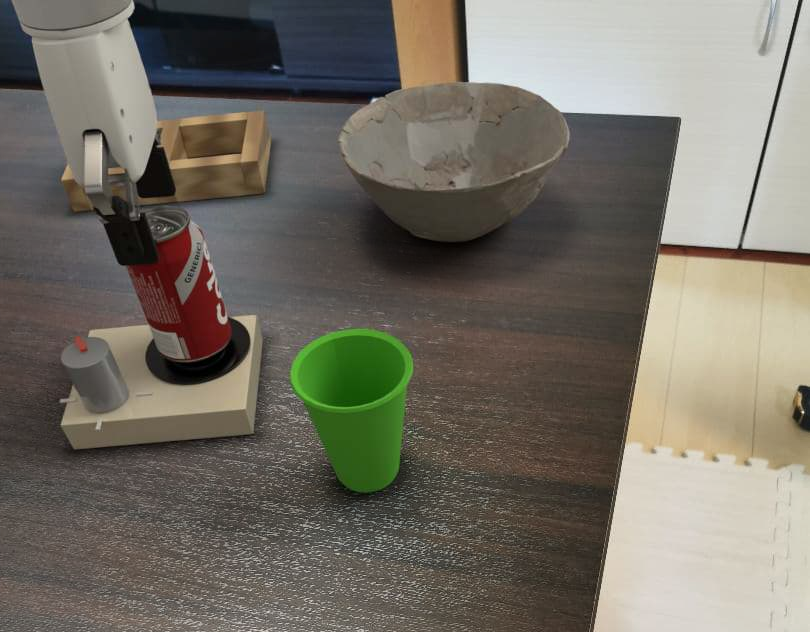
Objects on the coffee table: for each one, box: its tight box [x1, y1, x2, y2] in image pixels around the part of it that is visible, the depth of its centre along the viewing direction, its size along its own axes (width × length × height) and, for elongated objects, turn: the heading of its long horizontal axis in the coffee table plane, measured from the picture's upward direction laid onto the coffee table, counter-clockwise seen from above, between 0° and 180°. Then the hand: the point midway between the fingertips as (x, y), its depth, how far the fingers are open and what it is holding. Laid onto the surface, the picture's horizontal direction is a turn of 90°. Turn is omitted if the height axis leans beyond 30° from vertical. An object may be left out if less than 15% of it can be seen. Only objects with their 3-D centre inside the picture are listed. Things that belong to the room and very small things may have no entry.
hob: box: [59, 314, 264, 450], centre depth 76 cm, size 17×14×3 cm
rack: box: [60, 109, 272, 213], centre depth 101 cm, size 23×12×4 cm, turn 92°
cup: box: [289, 328, 414, 494], centre depth 65 cm, size 9×9×11 cm
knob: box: [60, 335, 129, 413], centre depth 71 cm, size 4×4×5 cm
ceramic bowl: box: [337, 81, 571, 243], centre depth 88 cm, size 22×23×10 cm
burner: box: [145, 316, 251, 385], centre depth 76 cm, size 10×10×1 cm
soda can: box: [125, 204, 232, 363], centre depth 71 cm, size 7×7×12 cm
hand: (149, 227), depth 69 cm, fingers open, 9 cm apart
